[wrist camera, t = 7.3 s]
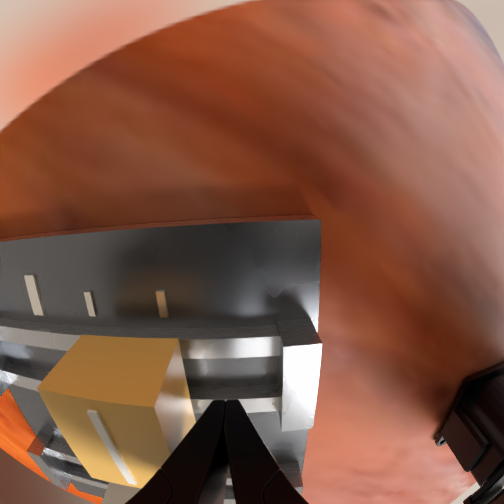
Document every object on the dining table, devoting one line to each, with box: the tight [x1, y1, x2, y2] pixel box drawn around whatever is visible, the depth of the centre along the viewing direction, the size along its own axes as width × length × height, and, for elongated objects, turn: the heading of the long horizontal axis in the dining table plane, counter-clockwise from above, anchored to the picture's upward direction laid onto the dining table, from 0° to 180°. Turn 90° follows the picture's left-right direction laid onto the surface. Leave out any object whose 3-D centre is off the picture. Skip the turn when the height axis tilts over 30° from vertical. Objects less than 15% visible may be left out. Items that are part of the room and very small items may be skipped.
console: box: [0, 215, 322, 504], centre depth 11 cm, size 17×20×3 cm
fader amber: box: [37, 335, 196, 489], centre depth 8 cm, size 4×4×5 cm
